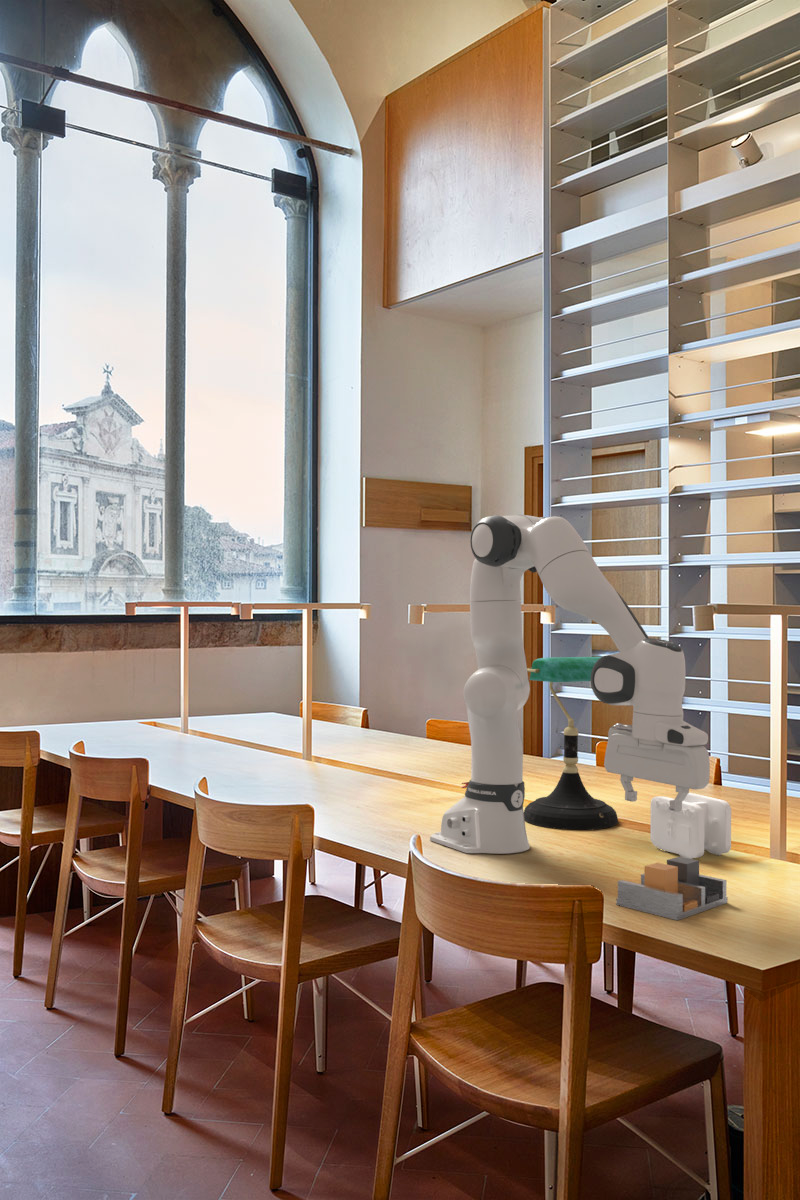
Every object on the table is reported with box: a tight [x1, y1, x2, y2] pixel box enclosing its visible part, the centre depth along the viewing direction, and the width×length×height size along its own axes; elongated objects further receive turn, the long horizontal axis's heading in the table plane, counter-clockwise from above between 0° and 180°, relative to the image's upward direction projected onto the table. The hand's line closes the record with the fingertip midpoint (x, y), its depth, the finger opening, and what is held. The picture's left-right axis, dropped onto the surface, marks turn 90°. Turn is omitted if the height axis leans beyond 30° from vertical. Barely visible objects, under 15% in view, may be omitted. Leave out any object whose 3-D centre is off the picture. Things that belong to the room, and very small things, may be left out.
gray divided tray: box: [615, 873, 729, 921], centre depth 178 cm, size 12×16×4 cm
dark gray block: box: [666, 856, 700, 886], centre depth 180 cm, size 4×4×6 cm
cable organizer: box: [649, 792, 732, 859], centre depth 217 cm, size 15×11×12 cm
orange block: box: [644, 862, 678, 893], centre depth 175 cm, size 4×4×6 cm
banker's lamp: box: [523, 656, 619, 831], centre depth 250 cm, size 26×23×40 cm
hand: (652, 805), depth 184 cm, fingers open, 8 cm apart
